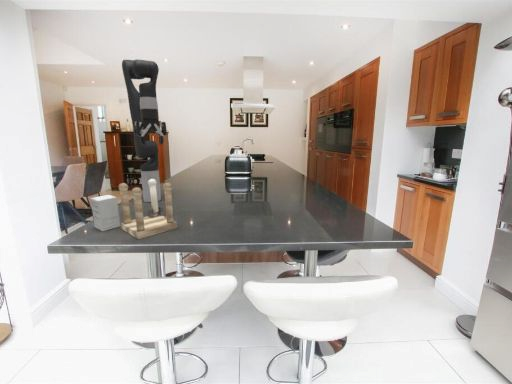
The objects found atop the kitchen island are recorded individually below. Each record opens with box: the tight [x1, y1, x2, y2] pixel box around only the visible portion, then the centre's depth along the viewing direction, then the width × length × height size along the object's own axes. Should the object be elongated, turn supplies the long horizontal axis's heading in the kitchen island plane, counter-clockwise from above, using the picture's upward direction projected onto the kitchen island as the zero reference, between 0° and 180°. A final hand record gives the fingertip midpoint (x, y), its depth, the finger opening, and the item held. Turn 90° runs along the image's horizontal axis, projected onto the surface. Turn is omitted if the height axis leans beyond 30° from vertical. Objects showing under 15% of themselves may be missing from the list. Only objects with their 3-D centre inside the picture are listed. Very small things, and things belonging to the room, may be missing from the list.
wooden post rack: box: [118, 182, 179, 240], centre depth 106 cm, size 16×17×19 cm
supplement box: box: [90, 194, 121, 232], centre depth 108 cm, size 7×7×13 cm
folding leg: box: [148, 179, 159, 213], centre depth 114 cm, size 3×3×14 cm
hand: (152, 144), depth 124 cm, fingers open, 8 cm apart
